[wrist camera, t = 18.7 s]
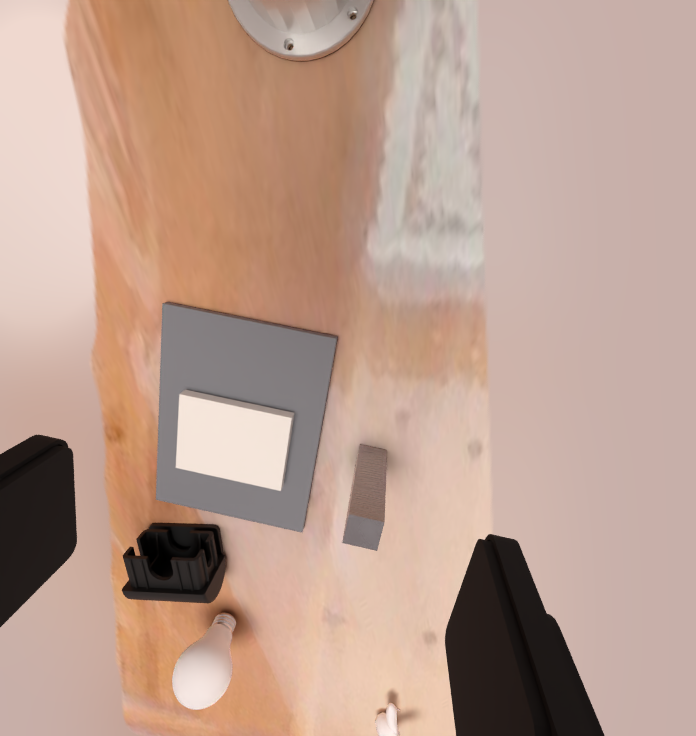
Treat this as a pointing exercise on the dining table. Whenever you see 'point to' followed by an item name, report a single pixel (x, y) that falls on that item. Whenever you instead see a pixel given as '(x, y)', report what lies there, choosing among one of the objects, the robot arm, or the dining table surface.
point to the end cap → (176, 563)
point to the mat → (246, 384)
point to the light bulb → (205, 666)
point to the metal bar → (367, 499)
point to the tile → (233, 439)
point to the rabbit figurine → (388, 722)
